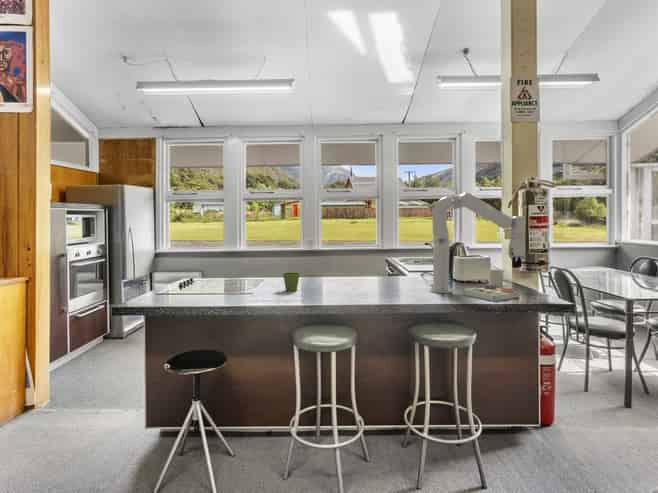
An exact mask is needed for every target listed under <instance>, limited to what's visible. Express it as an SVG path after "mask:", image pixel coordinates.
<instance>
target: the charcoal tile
mask: <svg viewBox="0 0 658 493" xmlns="http://www.w3.org/2000/svg"><path fill="white" fill-rule="evenodd" d="M483 285H484V287H483V288H485V289H490V290H492V289H496V288H498V287H497V285H494V284H489V283H486V284H483Z"/></svg>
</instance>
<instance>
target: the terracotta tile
mask: <svg viewBox="0 0 658 493" xmlns="http://www.w3.org/2000/svg"><path fill="white" fill-rule="evenodd" d="M500 289H501V292H505V293H511V292H515V288H514V287H510V286H503V287H500Z"/></svg>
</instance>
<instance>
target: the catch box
mask: <svg viewBox="0 0 658 493" xmlns="http://www.w3.org/2000/svg"><path fill="white" fill-rule="evenodd" d="M477 289H478V288H477V287H472V288H470V287H469V288H465V289H463V290H462V291H463V292H462V294H463V296H466V297H470V298H475V299H480V300H484V301H489V302H493V303H496V302H501V301H506V300H507V299H506V294H498V295H490V294H485V293H481V292H477Z"/></svg>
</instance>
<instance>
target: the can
mask: <svg viewBox="0 0 658 493" xmlns="http://www.w3.org/2000/svg"><path fill="white" fill-rule="evenodd" d="M488 284H494V285H497V287H496V288H501V287H504V269H503V268H497V267H496V268H488Z"/></svg>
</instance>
